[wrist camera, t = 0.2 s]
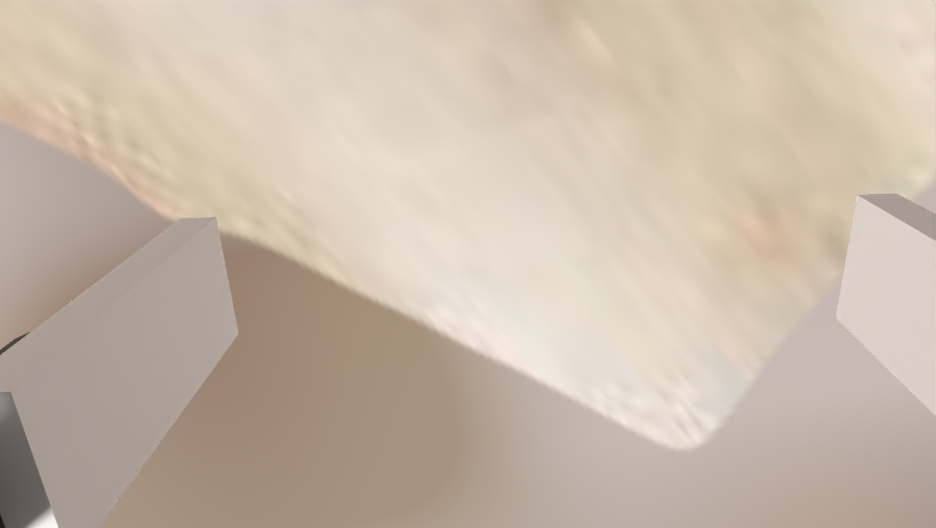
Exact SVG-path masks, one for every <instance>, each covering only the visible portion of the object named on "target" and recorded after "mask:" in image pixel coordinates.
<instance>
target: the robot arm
mask: <svg viewBox="0 0 936 528" xmlns="http://www.w3.org/2000/svg"><path fill="white" fill-rule="evenodd" d="M836 319H837V320H839V321H840V322H841V323H842V324H843V325H844V326H845V327H846V328H847V329H848V330H849V331H850V332H851V333H852V334H853V335H854V336H855V337H856V338H857V339H858V340H859V341H860V342H861V343H862V344H863V345H864V346H865V347H866V348H867V349H868V350H869V351H870V352H871V353H872V354H873V355H874V356H875V357H876V358H877V359H878V360H879V361H880V362H881V363H882V364H883V365H884V366H885V367H886V368H887V369H888V370H890V372H891V373H892V374H894V376H896V377H897V378H898V379H899V380H900V381H901V382H902V383H903V384H904V385H905V386H906V387H907V388H908V389H909V390H910V391H911V392H912V393H913V394H914V395H915V396H916V397H917V398H918V399H919V400H920V401H921V402H922V403H923V404H924V405H925V406H926V407H927V408H928V409H929V410H930V411H931V412H932V413H933V414H934V415H935V416H936V214H934V213H932V212H930V211H929V210H927V209H925V208H923V207H921V206H919V205H917V204H915V203H913V202H911V201H910V200H908V199H906V198H904V197H902V196H900V195H898V194H873V195H857V200H856V206H855V212H854V217H853V223H852V229H851V235H850V240H849V246H848V252H847V257H846V263H845V269H844V275H843V281H842V286H841V292H840V298H839V303H838V309H837V315H836ZM238 334H239V333H238V328H237V324H236V318H235V312H234V308H233V302H232V297H231V292H230V287H229V282H228V277H227V271H226V266H225V261H224V256H223V251H222V246H221V241H220V236H219V231H218V226H217V220H216V217H210V218H181V219H179V220H178V221H176V222H175V223H174V224H172V225H171V226H170V227H169V228H167V229H166V230H164V231H163V232H162V233H161V234H159V235H158V236H157V237H155V238H154V239H153V240H151V241H150V242H149V243H147V244H146V245H145V246H143V247H142V248H141V249H139V250H138V251H137V252H135V253H134V254H133V255H132V256H130V257H129V258H128V259H126V260H125V261H124V262H122V263H121V264H120V265H118V266H117V267H116V268H115V269H113V270H112V271H110V272H109V273H108V274H106V275H105V276H104V277H103V278H102V279H100V280H99V281H97V282H96V283H95V284H93V285H92V286H91V287H89V288H88V289H87V290H85V291H84V292H83V293H82V294H80V295H79V296H78V297H76V298H75V299H74V300H72V301H71V302H70V303H68V304H67V305H66V306H64V307H63V308H62V309H60V310H59V311H58V312H56V313H55V314H54V315H52V316H51V317H50V318H49V319H47V320H46V321H45V322H43V323H42V324H41V325H39V326H38V327H37V328H35V329H34V330H33V331H31V332H29V333H27V334H25V335H22V336H20V337H18V338H16V339H14V340H13V341H12V342H10V343H9V344H8V345H6V346H5V347H4V348H2V349H1V350H0V528H99V527H100V525H101V524H102V522H103V521H104V520H105V518H106V517H107V515H108V514H109V513H110V511H111V510H112V509H113V507H114V506H115V504H116V503H117V502H118V500H119V499H120V497H121V496H122V495H123V493H124V492H125V490H126V489H127V488H128V486H129V485H130V483H131V482H132V481H133V479H134V478H135V477H136V475H137V474H138V472H139V471H140V470H141V468H142V467H143V465H144V464H145V463H146V461H147V460H148V459H149V457H150V456H151V454H152V453H153V452H154V450H155V449H156V448H157V446H158V445H159V443H160V442H161V441H162V439H163V438H164V436H165V435H166V434H167V432H168V431H169V430H170V428H171V427H172V425H173V424H174V423H175V421H176V420H177V418H178V417H179V416H180V414H181V413H182V411H183V410H184V409H185V407H186V406H187V404H188V403H189V402H190V400H191V399H192V398H193V396H194V395H195V393H196V392H197V391H198V389H199V388H200V386H201V385H202V384H203V382H204V381H205V380H206V378H207V377H208V375H209V374H210V373H211V371H212V370H213V369H214V367H215V366H216V364H217V363H218V362H219V360H220V359H221V357H222V356H223V354H224V353H225V352H226V350H227V349H228V348H229V346H230V345H231V344H232V342H233V341H234V339H235V338H236V337H237V335H238Z"/></svg>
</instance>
